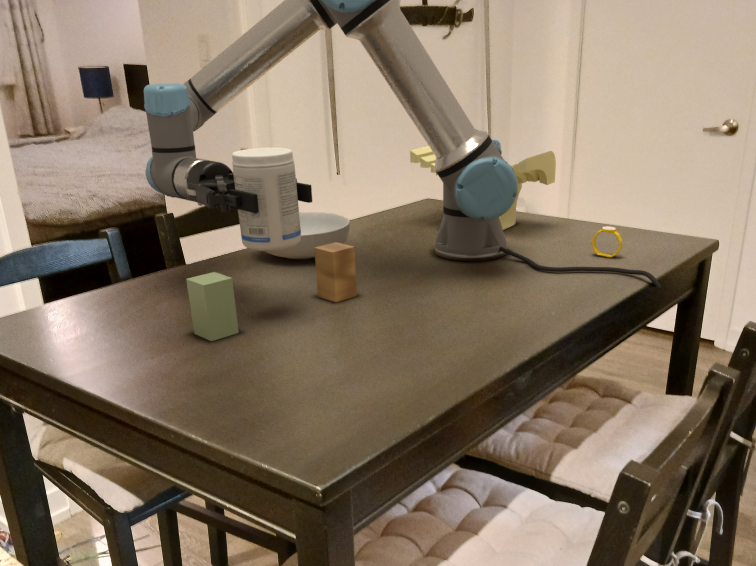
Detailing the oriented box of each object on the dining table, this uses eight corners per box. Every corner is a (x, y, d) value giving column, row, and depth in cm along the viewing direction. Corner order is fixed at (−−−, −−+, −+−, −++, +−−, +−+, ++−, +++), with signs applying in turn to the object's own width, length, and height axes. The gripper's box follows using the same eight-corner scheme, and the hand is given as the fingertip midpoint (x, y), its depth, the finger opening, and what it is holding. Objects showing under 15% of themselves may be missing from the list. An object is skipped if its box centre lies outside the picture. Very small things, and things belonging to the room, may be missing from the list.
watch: (589, 256, 158) (591, 227, 155) (593, 253, 160) (596, 224, 157) (617, 259, 155) (620, 230, 152) (622, 256, 157) (624, 227, 154)
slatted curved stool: (552, 225, 183) (556, 149, 176) (523, 240, 171) (526, 158, 164) (445, 213, 198) (444, 142, 191) (411, 225, 186) (410, 150, 179)
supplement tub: (291, 235, 129) (284, 145, 123) (309, 247, 122) (302, 152, 116) (235, 242, 126) (224, 149, 120) (249, 255, 118) (239, 157, 112)
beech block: (339, 290, 139) (336, 241, 136) (357, 296, 136) (354, 246, 132) (317, 296, 136) (314, 247, 132) (335, 302, 133) (332, 252, 129)
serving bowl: (234, 262, 158) (230, 229, 155) (285, 239, 176) (282, 209, 173) (323, 271, 151) (320, 237, 148) (367, 246, 169) (366, 214, 166)
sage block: (221, 325, 123) (214, 271, 120) (238, 332, 120) (232, 277, 116) (194, 333, 120) (186, 278, 116) (211, 341, 117) (203, 285, 113)
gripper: (261, 195, 141) (340, 211, 126) (150, 214, 126) (224, 235, 112) (257, 153, 138) (337, 165, 123) (142, 168, 123) (218, 183, 109)
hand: (283, 198), depth 118 cm, fingers closed on supplement tub, 10 cm apart
